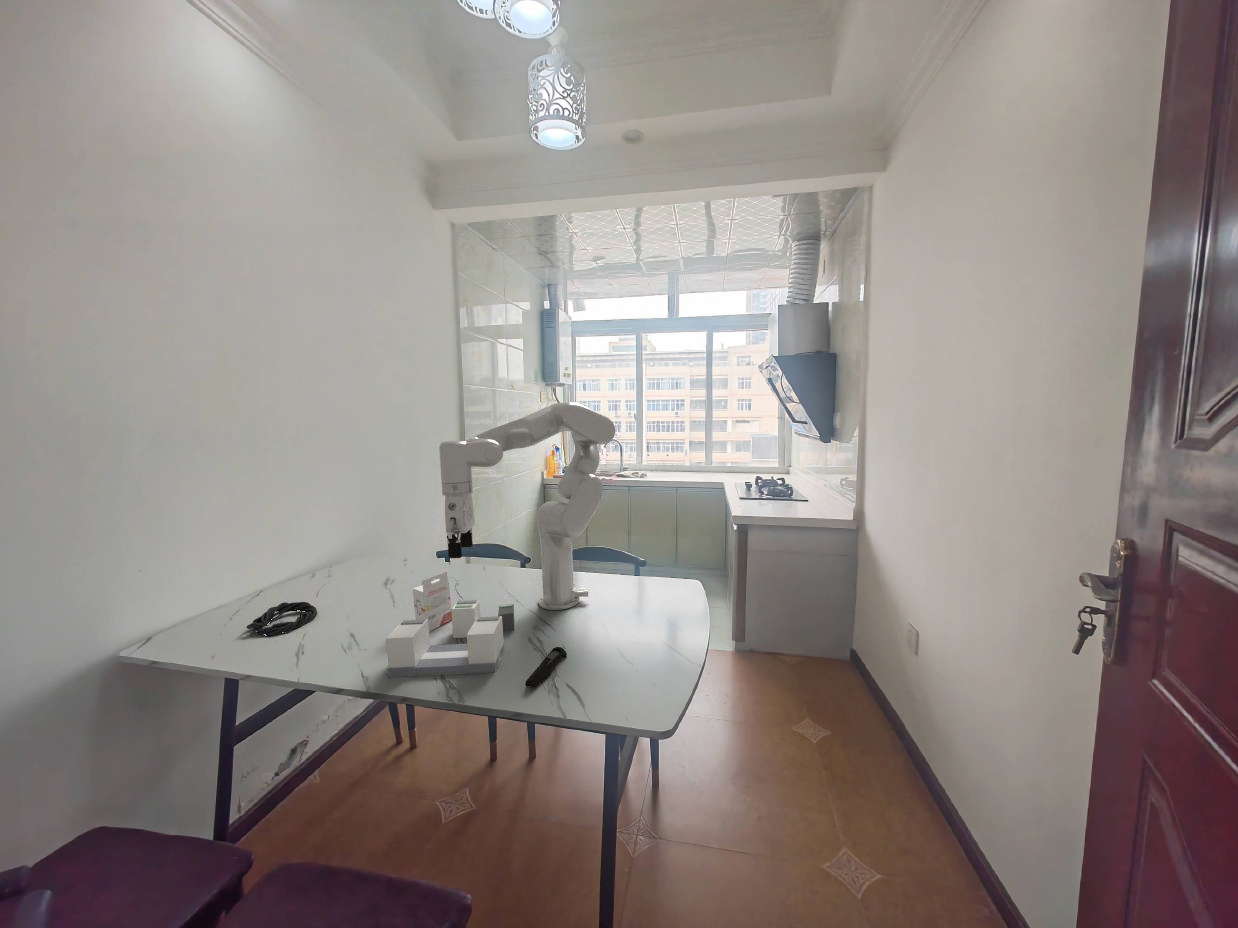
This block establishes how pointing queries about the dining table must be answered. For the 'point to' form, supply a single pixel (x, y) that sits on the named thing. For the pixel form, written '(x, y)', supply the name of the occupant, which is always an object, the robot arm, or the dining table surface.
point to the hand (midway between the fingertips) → (461, 552)
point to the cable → (263, 620)
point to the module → (464, 617)
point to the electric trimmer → (546, 667)
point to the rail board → (444, 650)
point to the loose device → (507, 616)
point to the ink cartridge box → (433, 601)
